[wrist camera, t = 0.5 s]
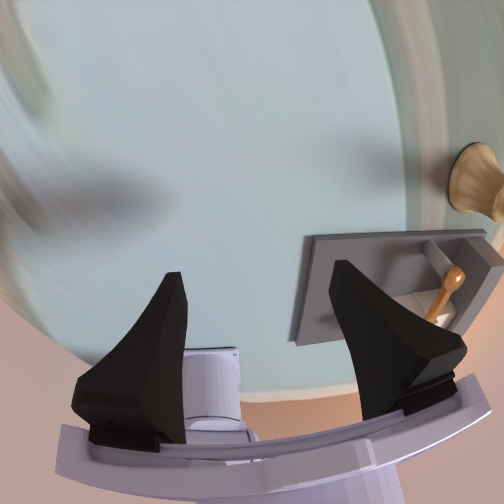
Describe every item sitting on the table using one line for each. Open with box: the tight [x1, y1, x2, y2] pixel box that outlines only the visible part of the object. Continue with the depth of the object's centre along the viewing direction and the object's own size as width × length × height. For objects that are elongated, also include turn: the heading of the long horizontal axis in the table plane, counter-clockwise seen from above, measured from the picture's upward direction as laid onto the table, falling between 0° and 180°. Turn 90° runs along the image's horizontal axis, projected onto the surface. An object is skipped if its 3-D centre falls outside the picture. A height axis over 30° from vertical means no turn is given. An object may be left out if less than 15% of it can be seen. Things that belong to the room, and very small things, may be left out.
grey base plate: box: [295, 229, 504, 346], centre depth 27 cm, size 16×24×6 cm, turn 90°
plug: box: [391, 288, 459, 330], centre depth 29 cm, size 4×17×5 cm, turn 90°
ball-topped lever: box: [424, 266, 465, 323], centre depth 25 cm, size 15×2×1 cm, turn 0°
